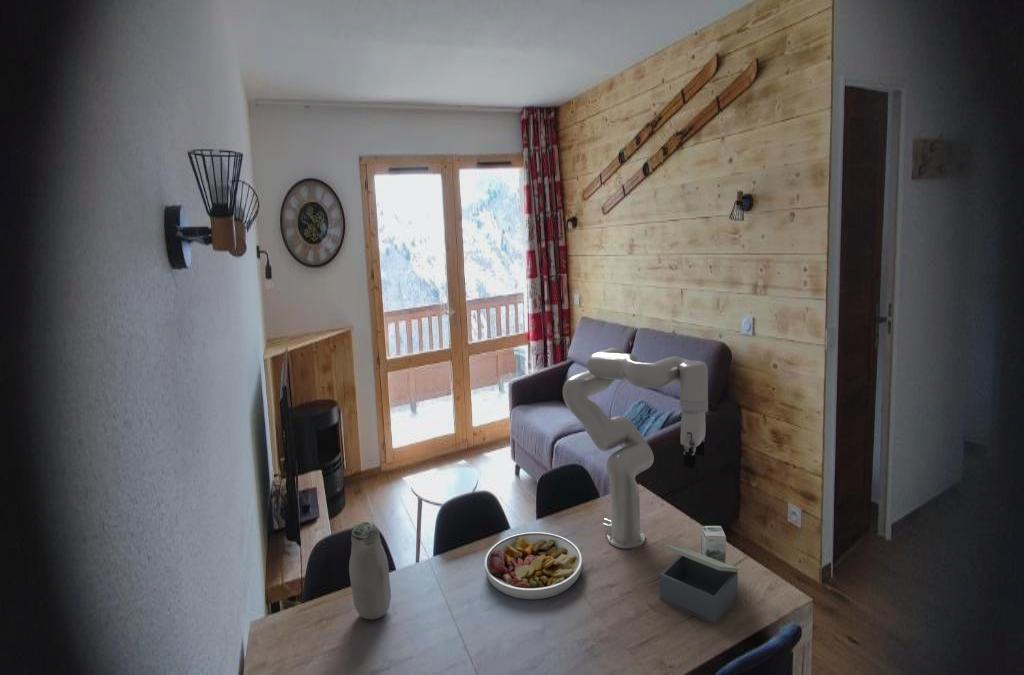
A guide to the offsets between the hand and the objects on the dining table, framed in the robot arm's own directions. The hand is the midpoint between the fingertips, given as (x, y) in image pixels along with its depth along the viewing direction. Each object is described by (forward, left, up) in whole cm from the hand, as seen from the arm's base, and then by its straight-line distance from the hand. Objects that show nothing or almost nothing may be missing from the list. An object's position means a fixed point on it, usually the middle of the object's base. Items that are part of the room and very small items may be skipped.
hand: (694, 460), depth 160 cm
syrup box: (+5, +2, -36) cm, 36 cm away
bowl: (-37, -31, -36) cm, 60 cm away
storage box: (+7, -11, -35) cm, 38 cm away
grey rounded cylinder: (-59, -74, -36) cm, 101 cm away
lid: (+7, -10, -24) cm, 27 cm away
